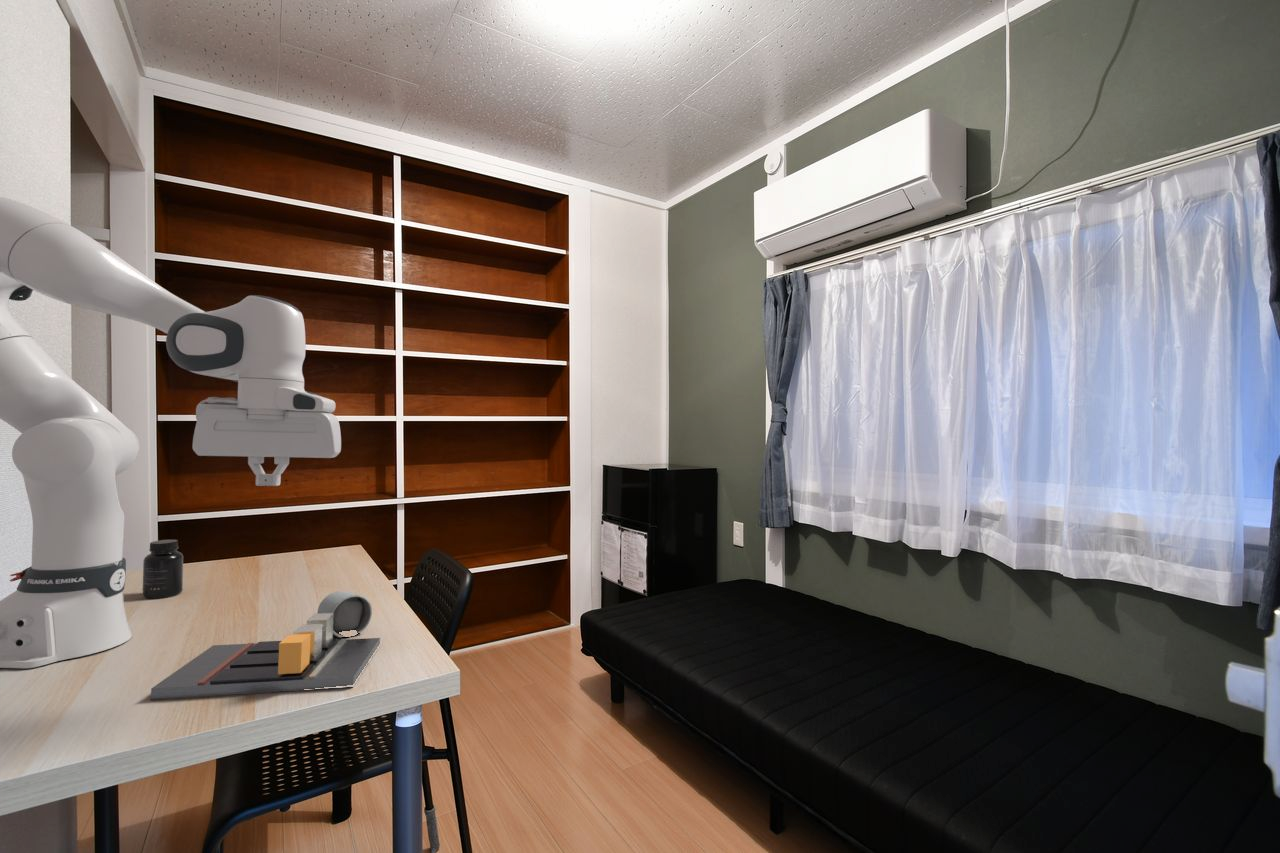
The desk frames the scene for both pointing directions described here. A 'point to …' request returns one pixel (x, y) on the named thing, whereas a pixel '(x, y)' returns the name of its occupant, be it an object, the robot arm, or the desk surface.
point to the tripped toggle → (294, 654)
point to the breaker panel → (270, 666)
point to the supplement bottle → (163, 570)
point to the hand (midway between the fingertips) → (268, 485)
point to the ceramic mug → (347, 611)
